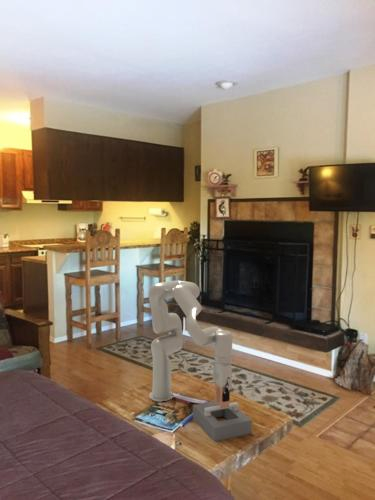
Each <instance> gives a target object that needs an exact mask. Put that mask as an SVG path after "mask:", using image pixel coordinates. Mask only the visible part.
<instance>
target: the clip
mask: <svg viewBox="0 0 375 500" xmlns="http://www.w3.org/2000/svg"><path fill="white" fill-rule="evenodd" d="M226 385H227V384H226ZM226 385H225V386H226ZM227 388H228V387H225V390H226V389H227ZM223 393H224V392H223V387H221V386H219V385H218V384H217V383H216V382H215V381H214V401H215V403H220V407H221V408H225V407H229V401H230V397H229V401H226V402H223V401H222V399H223Z"/></svg>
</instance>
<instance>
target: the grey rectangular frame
mask: <svg viewBox="0 0 375 500" xmlns="http://www.w3.org/2000/svg"><path fill="white" fill-rule="evenodd" d="M221 417H224V418H225V420H221V421H219V420H218V419H217V418H221ZM192 418H193V419H194V421H195V422H196V423H197V424H198V425H199V426H200V427H201V429H202V430H204V432H205V433H206V434H207V435H208V436H209V438H210V439H212V441H213V442H219V441H223V440H227V439H232V438H236V437H241V436H245V435H249V434H250V435H251V434H252V426H253V425H252V419H250V417H249V416H248V415H247V414H245V413H244V412H243V411H241V410H240V409H239V402H238V401H234V402H231V400H229V407H225V408H221V407H220V403H215V400H214V401H210V402H209V401H208V402H204V403H203V402H202V403H199V404H198V403H196V404H193V405H192Z"/></svg>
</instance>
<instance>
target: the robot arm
mask: <svg viewBox="0 0 375 500" xmlns="http://www.w3.org/2000/svg"><path fill="white" fill-rule="evenodd" d="M200 293H201V292H200V287H199V286H198V285H197V283H195V282H191V281H186V280H185V281H184V280H179V279H178V280H177V279H176V280H170V281H169V280H168V281H167V280H166V281H162V282H157V283H154V284H153V285H152V286H150V288H149V290H148V300H149V304H150V311H151V313H150V314H151V324H152V331H153V333H155V334H156V335H161V336H158V337H156V338H155V339H153V340H152V341H151V344H150V350H151V355H152V388H151V390H152V391H150V392H149V394H148V395H149V396H148V397H149V399H150V400H151V401H154V402H158V403H159V402H160V403H163V402H162V401H166V402H168V401H167V400H169V401H171V400H173V399H174V395H175V394H174V392H172V361H171V358H170V357H169V355H171V354H174V353H177V352H179V351H181V349H182V348H183V345H184V338H183V325H182V324H183V323H182V320H181V318H180V316H179V315H178V314H177V313H175V312H169V308H168V307H169V306H168V305H167V304H168V303H167V302H166V301H165V300H167V299H172V298H174V300H175V301H176V303H177V305H178V306H179V308H180V309H181V310H182V312H183V313H184V315H185V317H186V319H185V323H186V324H185V327H186V330H187V333H188V334H189V337H190V338H191V339H192V341H193V342H194V343H195V344H196V345H197V346H198V347H203V348H205V347H208V346H210V345H214V362H213V367H212V380H213V381H214V383H215V382H216V383H217V384H218V385H219V386H221V387H223V392H224V393H223V399H222V401H223V402H226V401H230V399H229V397H230V394H231V391H232V390H233V386H232V385H233V383H232V382H233V373H232V372H233V369H232V363H233V360H232V359H233V357H232V356H233V333H232V332H231V331H230V330H226V329H225V330H224V329H222V328H220V327H219V326H214V325H213V326H209V327H206V328H201V327H200V325H199V324H198V320H197V318H196V317H197V316H198V315H199V313H201V312H202V305H201V304H200V302H199V301H198V300H197V299H198V297H200ZM164 334H166V335H164ZM226 384H227V385H226ZM225 385H226V386H225ZM225 387H228V388H227V389H226V390H225ZM172 398H173V399H172ZM170 399H171V400H170Z"/></svg>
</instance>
